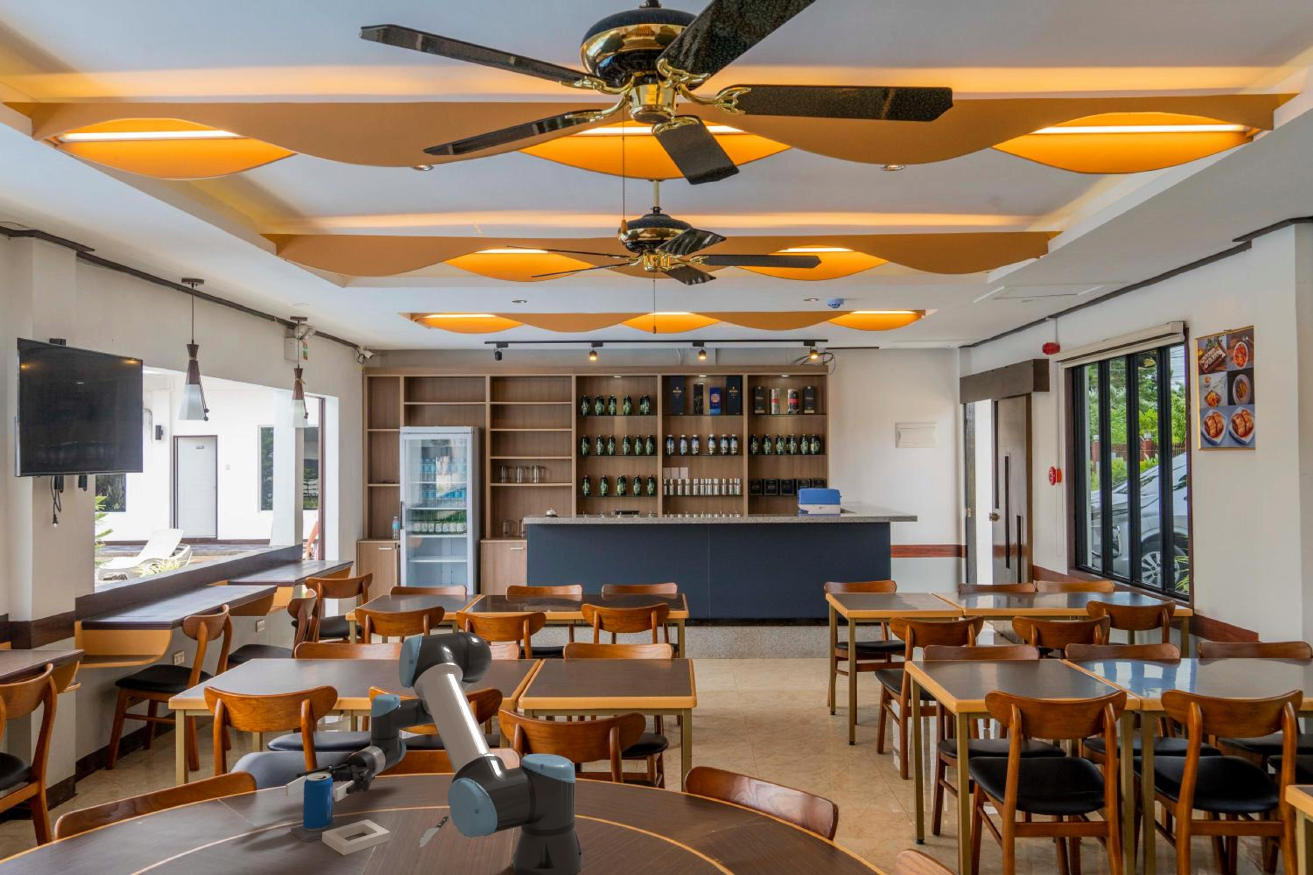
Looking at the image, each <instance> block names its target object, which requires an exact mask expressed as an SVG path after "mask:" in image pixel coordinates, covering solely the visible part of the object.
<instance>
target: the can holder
mask: <svg viewBox="0 0 1313 875" xmlns="http://www.w3.org/2000/svg"><path fill="white" fill-rule="evenodd" d="M341 826H342V827H339V828H335V829H332V830H329V831H325V832H322V838H321V840H322V841H321V842H323V843H325V844H326V845H327V846H328V847H330V848H331V849H333V850H335V851H336V852H338V853H339V854H341V855H343V856H347V855H350V854H352V853H356V852H359V851H362V850H364V849H368V848H371V847H374V846H378V845H380V844H383V843H385V844H386V843H388V842H390V840H391V831H389V830H387V829H386V828H383V827H382V826H380V825H379V824H377V823H375V822H373V821H372V820H370V819H368V818H366V819H364V820H363V819H362V820H360V821H356V822H354V823H353V822H352V823H349V824H347V825H341ZM362 833H364V834H365V835H364V836H361V837H358V838H354V839H351V840H350V839H349V840H347V839H346V838H350V837H352V836H354V835H358V834H362Z"/></svg>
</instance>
